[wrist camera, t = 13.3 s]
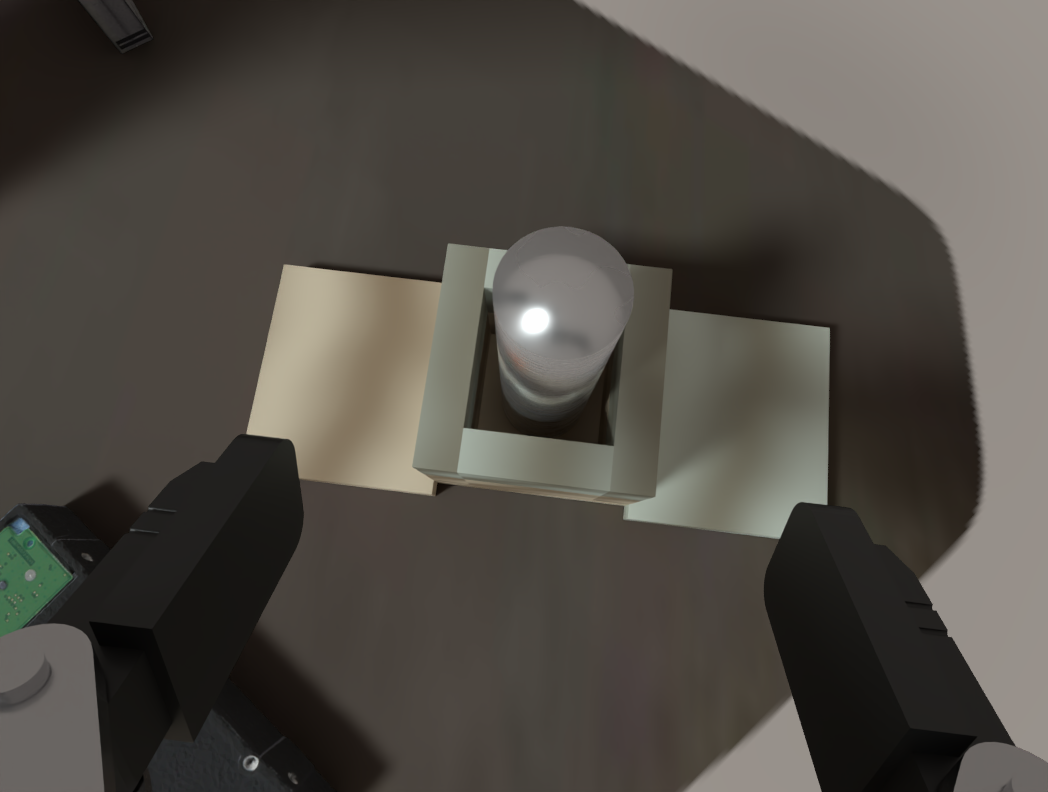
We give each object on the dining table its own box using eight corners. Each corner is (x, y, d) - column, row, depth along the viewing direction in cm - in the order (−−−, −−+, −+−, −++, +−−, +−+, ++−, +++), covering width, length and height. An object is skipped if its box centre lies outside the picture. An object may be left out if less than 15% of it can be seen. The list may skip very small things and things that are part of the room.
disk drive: (352, 784, 22) (71, 500, 24) (328, 821, 19) (12, 495, 21) (123, 1057, 20) (-161, 726, 22) (61, 1141, 17) (-259, 753, 19)
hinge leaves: (250, 473, 23) (168, 454, 18) (293, 275, 25) (231, 203, 20) (813, 543, 23) (903, 545, 17) (817, 336, 25) (900, 280, 19)
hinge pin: (497, 433, 23) (482, 349, 13) (507, 354, 23) (502, 218, 14) (579, 443, 22) (627, 367, 13) (587, 364, 23) (639, 235, 13)
